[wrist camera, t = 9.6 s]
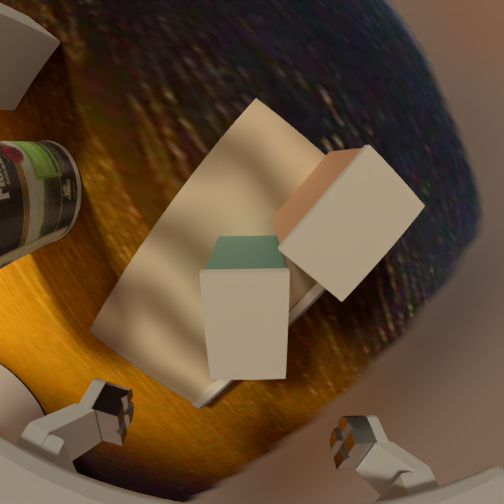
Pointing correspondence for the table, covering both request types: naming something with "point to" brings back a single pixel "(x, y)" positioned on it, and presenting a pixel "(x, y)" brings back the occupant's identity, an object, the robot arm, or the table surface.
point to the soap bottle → (21, 54)
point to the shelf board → (206, 252)
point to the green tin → (246, 308)
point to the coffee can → (35, 196)
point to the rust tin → (345, 218)
